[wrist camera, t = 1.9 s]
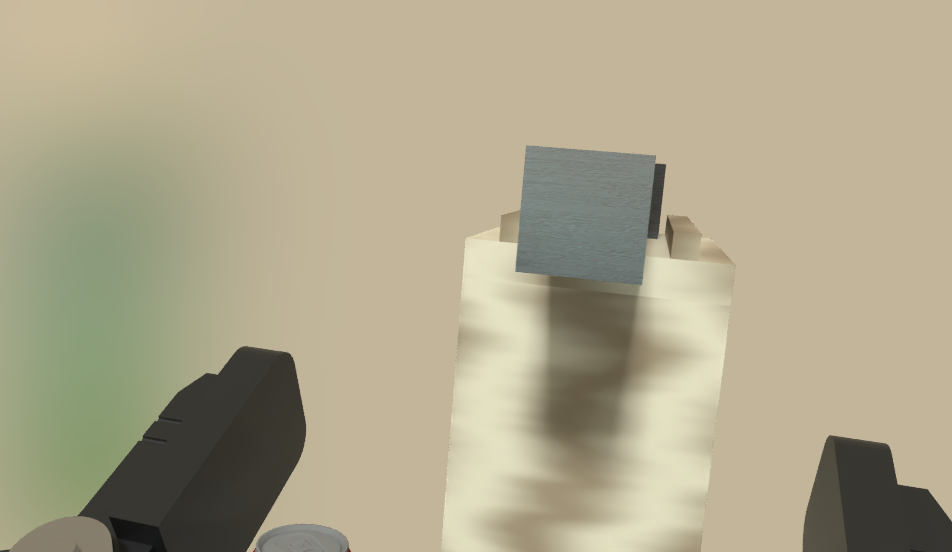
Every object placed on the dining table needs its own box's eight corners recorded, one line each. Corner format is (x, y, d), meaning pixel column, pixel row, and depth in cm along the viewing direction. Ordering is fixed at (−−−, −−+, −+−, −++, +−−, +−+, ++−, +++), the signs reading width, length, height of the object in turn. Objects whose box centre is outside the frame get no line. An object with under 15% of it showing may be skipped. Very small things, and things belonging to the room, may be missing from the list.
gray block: (657, 232, 45) (664, 165, 44) (662, 287, 23) (677, 157, 23) (569, 224, 45) (575, 158, 45) (495, 269, 24) (506, 143, 24)
